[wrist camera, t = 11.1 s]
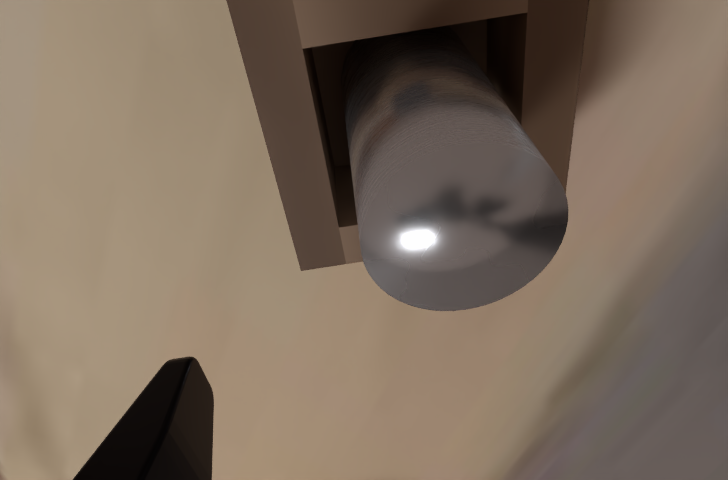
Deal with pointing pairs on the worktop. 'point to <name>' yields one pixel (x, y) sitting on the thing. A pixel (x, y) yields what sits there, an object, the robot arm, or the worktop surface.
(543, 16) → the socket block
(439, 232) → the grey cylinder
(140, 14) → the worktop surface
